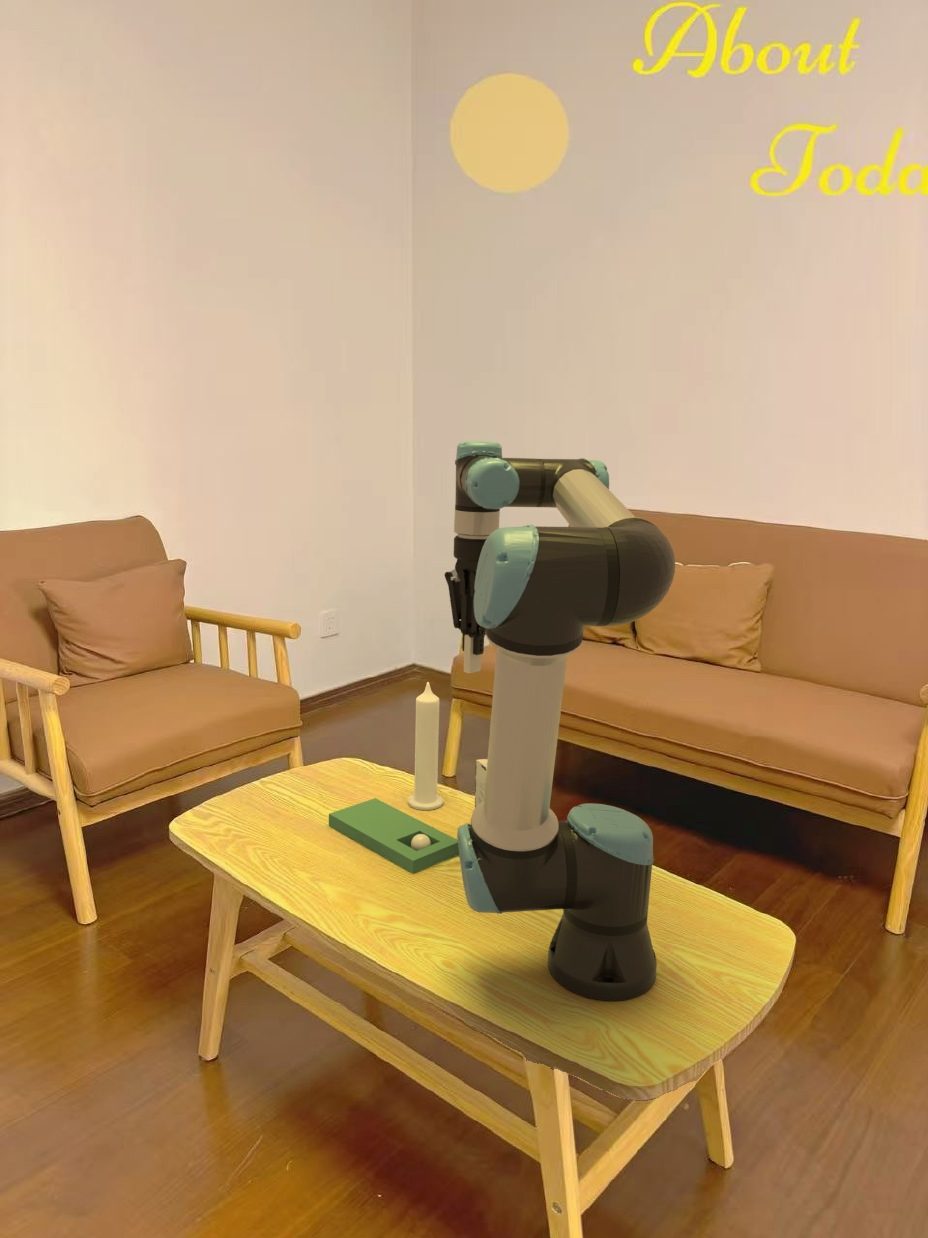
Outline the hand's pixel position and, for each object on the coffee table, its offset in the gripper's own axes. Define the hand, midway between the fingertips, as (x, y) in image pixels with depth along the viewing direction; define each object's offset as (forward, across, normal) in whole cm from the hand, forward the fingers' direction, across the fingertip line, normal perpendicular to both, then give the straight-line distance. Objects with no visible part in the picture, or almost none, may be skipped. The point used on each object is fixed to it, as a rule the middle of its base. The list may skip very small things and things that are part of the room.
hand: (472, 671), depth 161 cm
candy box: (+33, -8, -1) cm, 34 cm away
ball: (+30, +2, +9) cm, 32 cm away
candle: (+33, +18, -6) cm, 38 cm away
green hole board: (+32, +10, +9) cm, 35 cm away
